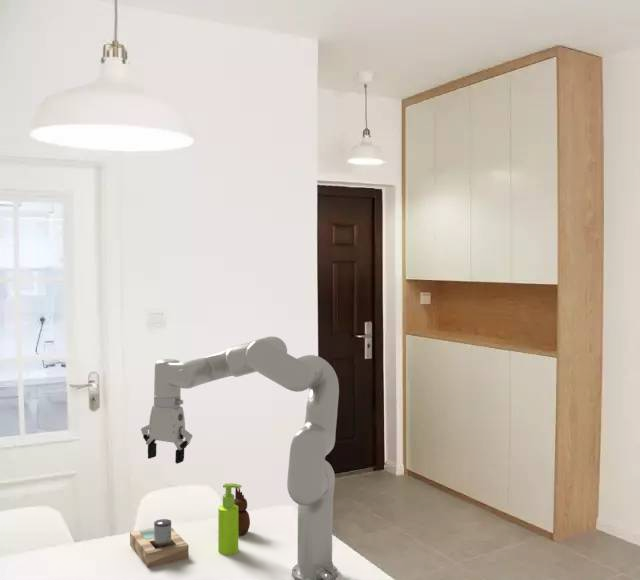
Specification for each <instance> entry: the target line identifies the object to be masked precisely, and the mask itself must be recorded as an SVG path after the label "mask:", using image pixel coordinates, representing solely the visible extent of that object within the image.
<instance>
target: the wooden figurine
mask: <svg viewBox="0 0 640 580" xmlns="http://www.w3.org/2000/svg"><path fill="white" fill-rule="evenodd" d="M234 505H237V506H238V537H240V536H245V535H246V534H247V533H248V532H249V529H250V525H251V518H250V515H249V512H248V511H247V509H248V501H247V499H246V498H245V495H244V494H243V492H242V491H241V488H240V489H237V488H235V494H234Z"/></svg>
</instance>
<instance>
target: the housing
mask: <svg viewBox="0 0 640 580" xmlns="http://www.w3.org/2000/svg"><path fill="white" fill-rule="evenodd" d="M129 545H130V547H131V548H132V550H133V551H134V552H135V554H136V555H137V556H138V558H139V559H140V560H141V561H142V563H143V565H145V566H146V568H151V567H156V566H160V565H165V564H168V563H170V564H171V563H174V562H180V561H182V560H183V561H184V560H188V559H189V544H188V543H187V542H186V541H185V540H184V539H183V538H182V537H181V536H180V535H179V533H178V532H176V530H174V529H173V528H172V527H171V546H168V547H163V548H158V549H155V548H154V527H150V528H145V529H139V530H134V531H130V532H129Z"/></svg>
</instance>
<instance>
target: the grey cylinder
mask: <svg viewBox="0 0 640 580" xmlns="http://www.w3.org/2000/svg"><path fill="white" fill-rule="evenodd" d="M153 524H154V525H153V528H154V548H155V549H158V548H163V547H168V546H171V528H172V520H170V519H166V518H163V519H156V520H155V521H154V522H153Z"/></svg>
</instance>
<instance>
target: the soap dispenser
mask: <svg viewBox="0 0 640 580" xmlns="http://www.w3.org/2000/svg"><path fill="white" fill-rule="evenodd" d="M242 487H243V485H241V484H239V483H224V484H223V485H222V488H225V493H224V494H223V495H222V505H219V506H218V517H217V518H218V525H217V526H218V527H217V528H218V529H217V530H218V533H217V534H218V537H217V539H218V549H217V550H218V551H217V552H218V554H220V555H224V556H230V555H236V554H237V553H238V552H239V536H238V506H237V505H234V499H235V494H234V493H232V488H233V489H236V488H237V489H238V490H239V489H240V490H241V488H242Z"/></svg>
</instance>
